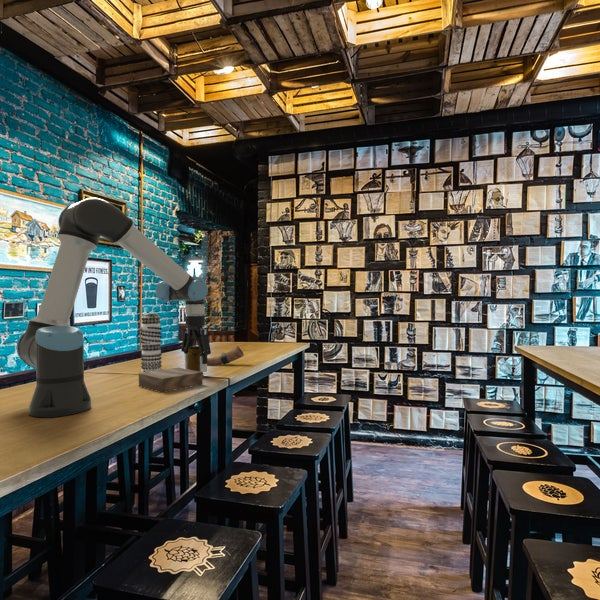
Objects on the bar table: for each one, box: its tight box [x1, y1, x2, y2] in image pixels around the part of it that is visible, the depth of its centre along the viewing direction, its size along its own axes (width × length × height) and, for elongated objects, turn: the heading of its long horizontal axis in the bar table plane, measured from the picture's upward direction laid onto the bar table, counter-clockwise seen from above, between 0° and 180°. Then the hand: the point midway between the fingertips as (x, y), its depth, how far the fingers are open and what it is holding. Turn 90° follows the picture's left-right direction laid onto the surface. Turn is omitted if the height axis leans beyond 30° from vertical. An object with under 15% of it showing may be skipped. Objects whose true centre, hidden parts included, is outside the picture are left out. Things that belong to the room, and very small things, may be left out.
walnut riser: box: [138, 367, 204, 393], centre depth 149 cm, size 16×16×5 cm
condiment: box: [188, 345, 204, 375], centre depth 166 cm, size 7×8×12 cm
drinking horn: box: [179, 344, 245, 366], centre depth 194 cm, size 6×30×10 cm, turn 90°
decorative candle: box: [139, 312, 163, 373], centre depth 182 cm, size 9×9×25 cm
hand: (195, 370), depth 166 cm, fingers open, 10 cm apart
